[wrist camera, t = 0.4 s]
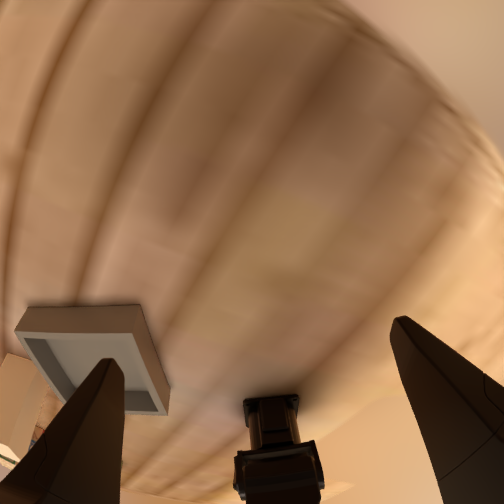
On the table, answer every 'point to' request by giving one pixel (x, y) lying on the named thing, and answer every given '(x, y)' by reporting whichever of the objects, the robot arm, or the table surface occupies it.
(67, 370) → the grey square tray
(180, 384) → the table surface
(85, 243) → the table surface
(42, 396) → the cream block
